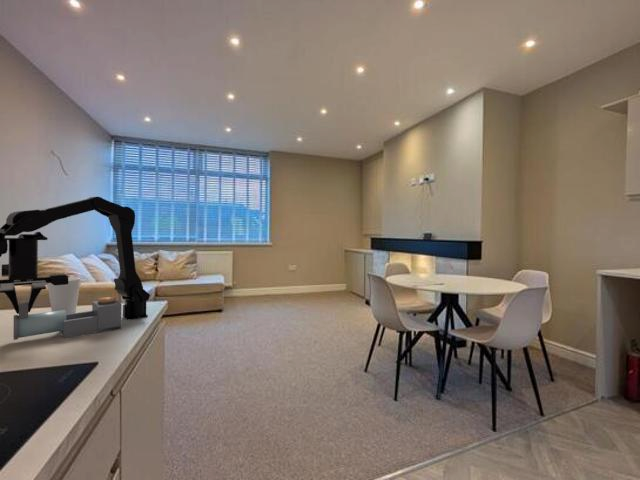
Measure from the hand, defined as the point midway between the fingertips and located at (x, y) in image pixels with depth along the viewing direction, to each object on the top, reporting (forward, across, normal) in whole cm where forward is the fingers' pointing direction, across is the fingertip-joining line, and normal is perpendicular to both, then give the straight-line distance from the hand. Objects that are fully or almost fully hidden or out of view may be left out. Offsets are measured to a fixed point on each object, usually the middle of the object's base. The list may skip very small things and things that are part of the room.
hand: (23, 312), depth 83 cm
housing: (+8, -14, 0) cm, 16 cm away
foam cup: (+8, -11, -27) cm, 30 cm away
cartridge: (+7, -4, 0) cm, 8 cm away
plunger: (+3, -19, 0) cm, 19 cm away
